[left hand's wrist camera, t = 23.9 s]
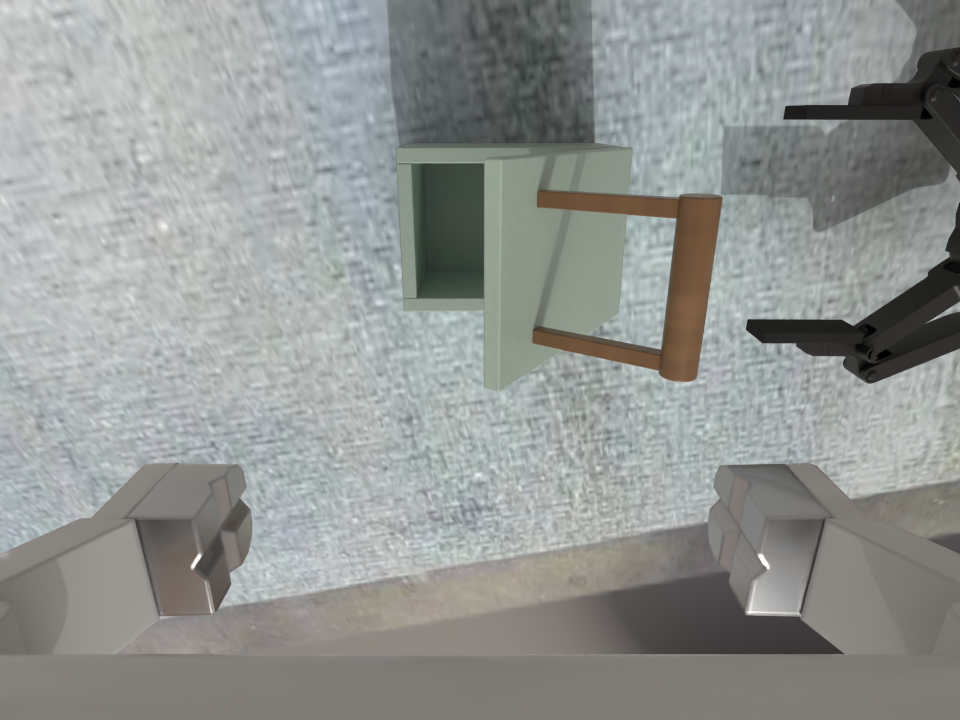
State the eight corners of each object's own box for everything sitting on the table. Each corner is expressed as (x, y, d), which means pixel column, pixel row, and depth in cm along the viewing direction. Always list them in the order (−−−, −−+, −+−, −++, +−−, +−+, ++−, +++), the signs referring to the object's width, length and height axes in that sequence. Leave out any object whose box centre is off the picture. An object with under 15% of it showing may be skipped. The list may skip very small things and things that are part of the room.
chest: (417, 277, 46) (403, 311, 38) (412, 143, 43) (395, 147, 34) (586, 276, 46) (610, 311, 38) (595, 142, 43) (624, 147, 34)
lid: (482, 388, 27) (668, 439, 22) (483, 157, 23) (703, 164, 19) (606, 312, 37) (746, 336, 33) (619, 147, 34) (778, 150, 30)
